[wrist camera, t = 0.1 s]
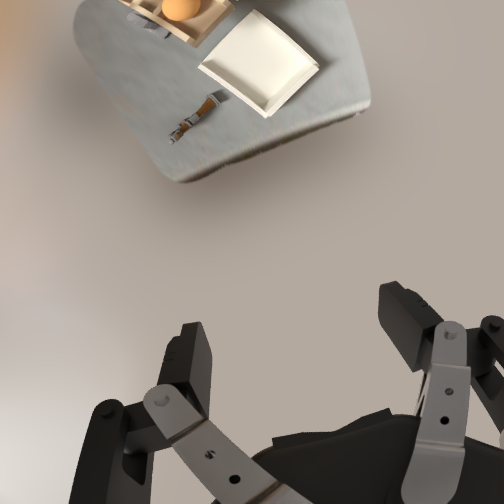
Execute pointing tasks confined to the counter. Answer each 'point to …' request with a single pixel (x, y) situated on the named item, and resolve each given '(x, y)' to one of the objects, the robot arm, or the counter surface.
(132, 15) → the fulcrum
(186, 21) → the lever
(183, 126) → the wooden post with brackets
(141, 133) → the counter surface
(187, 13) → the ball
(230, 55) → the tray
